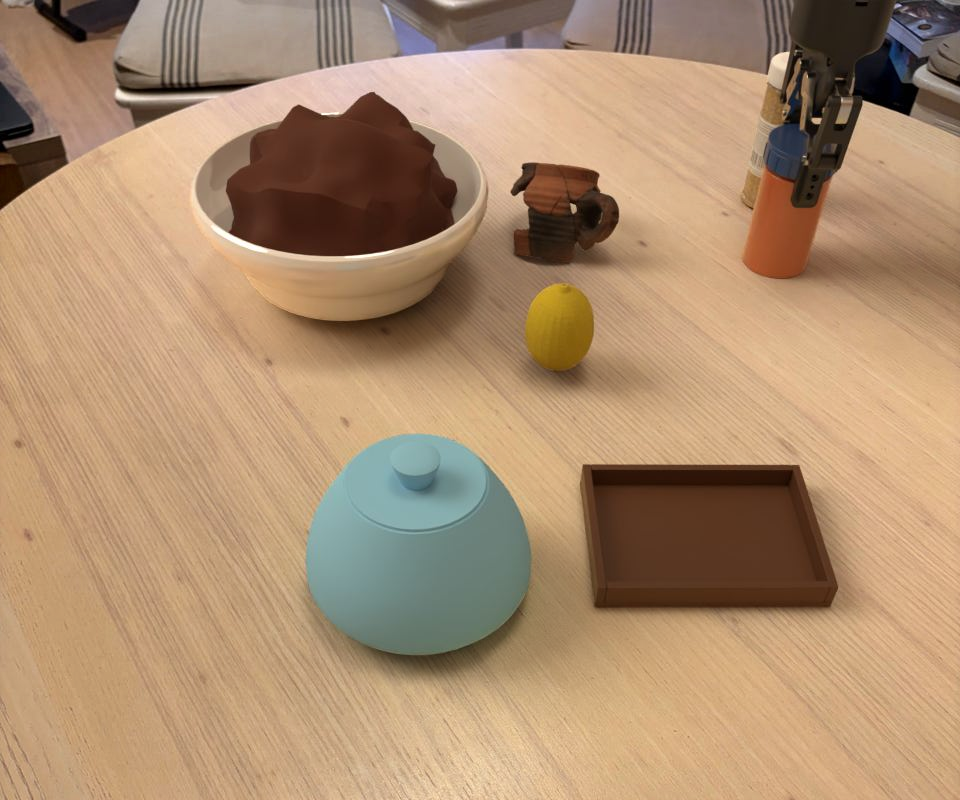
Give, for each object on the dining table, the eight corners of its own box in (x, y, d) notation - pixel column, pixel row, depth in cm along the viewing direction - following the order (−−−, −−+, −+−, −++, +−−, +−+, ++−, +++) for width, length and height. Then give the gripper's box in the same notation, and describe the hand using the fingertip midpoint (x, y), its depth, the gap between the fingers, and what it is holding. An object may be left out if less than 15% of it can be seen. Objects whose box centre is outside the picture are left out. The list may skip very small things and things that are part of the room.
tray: (792, 484, 77) (799, 464, 76) (830, 606, 70) (839, 587, 68) (579, 484, 77) (582, 463, 75) (594, 607, 69) (598, 587, 68)
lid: (756, 144, 91) (761, 122, 90) (828, 145, 91) (834, 123, 90) (771, 180, 87) (776, 158, 86) (846, 181, 87) (853, 159, 86)
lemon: (601, 371, 85) (613, 286, 79) (556, 399, 83) (565, 313, 77) (553, 342, 88) (562, 257, 82) (508, 368, 85) (513, 283, 79)
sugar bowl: (570, 617, 69) (588, 491, 59) (369, 706, 64) (355, 582, 55) (462, 483, 76) (464, 353, 67) (275, 552, 72) (250, 422, 63)
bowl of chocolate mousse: (158, 331, 87) (113, 156, 76) (279, 191, 102) (256, 27, 91) (434, 390, 83) (431, 215, 71) (518, 236, 98) (527, 70, 86)
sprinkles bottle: (791, 210, 103) (830, 68, 92) (749, 215, 102) (784, 72, 91) (773, 188, 105) (809, 47, 95) (732, 192, 105) (763, 51, 94)
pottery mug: (483, 252, 97) (493, 157, 94) (540, 258, 104) (551, 171, 101) (588, 265, 91) (602, 164, 88) (641, 271, 98) (656, 178, 95)
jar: (798, 244, 99) (830, 133, 90) (812, 278, 95) (846, 166, 87) (736, 243, 98) (763, 132, 90) (748, 278, 95) (777, 165, 86)
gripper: (784, -62, 82) (737, 145, 95) (825, 10, 73) (767, 227, 86) (876, -60, 82) (817, 146, 95) (928, 13, 73) (855, 229, 87)
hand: (793, 184), depth 91 cm, fingers closed on lid, 6 cm apart
